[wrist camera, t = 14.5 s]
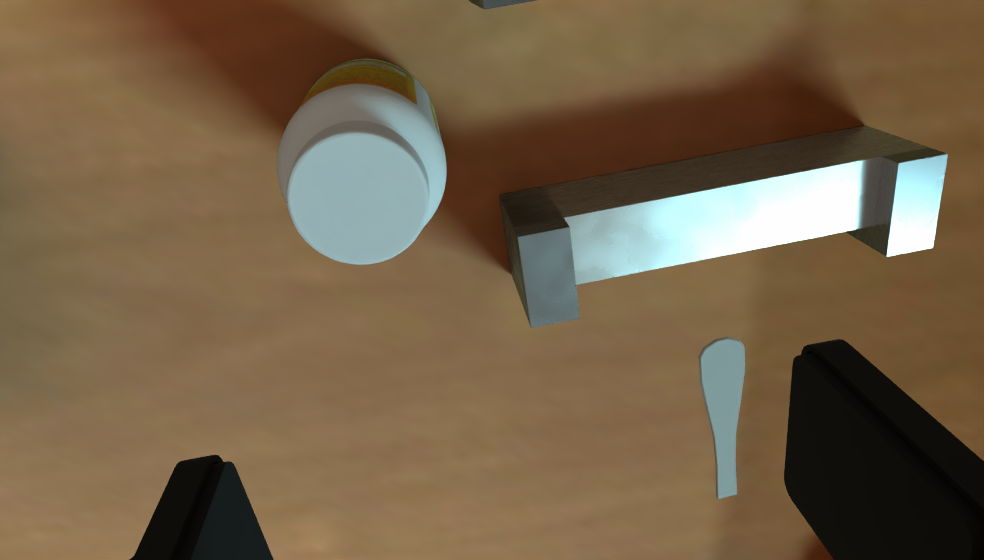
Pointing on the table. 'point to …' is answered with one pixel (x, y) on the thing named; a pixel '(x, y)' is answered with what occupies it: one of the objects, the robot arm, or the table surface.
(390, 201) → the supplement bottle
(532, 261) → the channel bracket
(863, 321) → the table surface
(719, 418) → the butter knife
